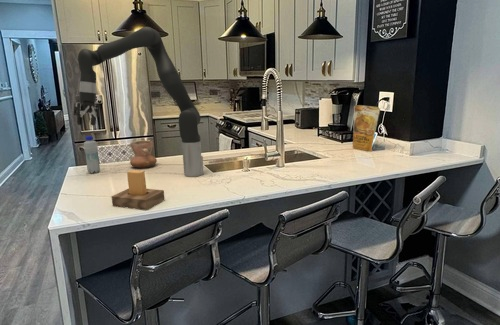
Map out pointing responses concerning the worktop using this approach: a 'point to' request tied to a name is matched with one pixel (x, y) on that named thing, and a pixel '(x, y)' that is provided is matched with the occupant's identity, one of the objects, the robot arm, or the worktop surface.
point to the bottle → (91, 155)
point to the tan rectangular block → (137, 183)
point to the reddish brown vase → (142, 154)
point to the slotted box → (138, 199)
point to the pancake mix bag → (364, 126)
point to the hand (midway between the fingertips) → (86, 125)
